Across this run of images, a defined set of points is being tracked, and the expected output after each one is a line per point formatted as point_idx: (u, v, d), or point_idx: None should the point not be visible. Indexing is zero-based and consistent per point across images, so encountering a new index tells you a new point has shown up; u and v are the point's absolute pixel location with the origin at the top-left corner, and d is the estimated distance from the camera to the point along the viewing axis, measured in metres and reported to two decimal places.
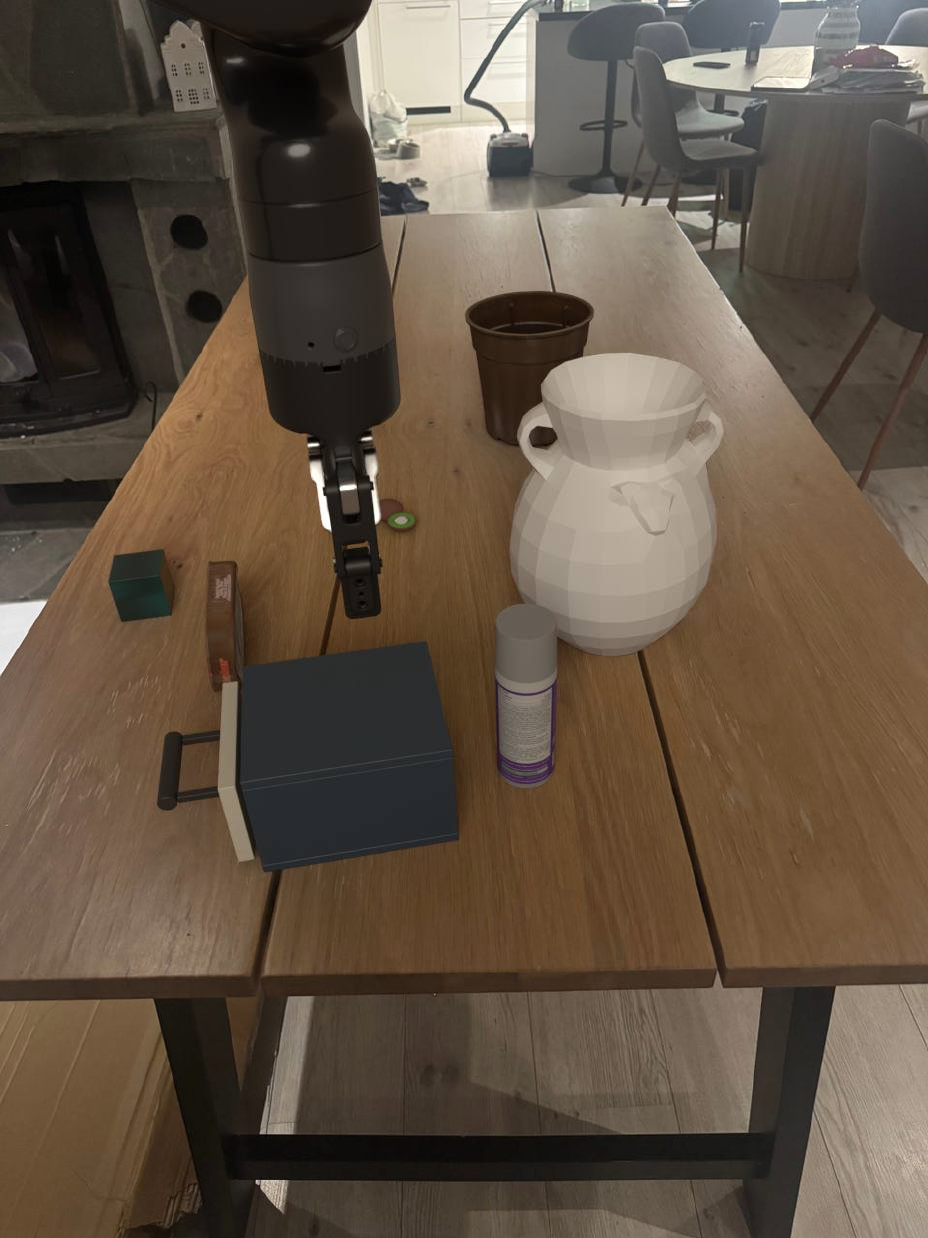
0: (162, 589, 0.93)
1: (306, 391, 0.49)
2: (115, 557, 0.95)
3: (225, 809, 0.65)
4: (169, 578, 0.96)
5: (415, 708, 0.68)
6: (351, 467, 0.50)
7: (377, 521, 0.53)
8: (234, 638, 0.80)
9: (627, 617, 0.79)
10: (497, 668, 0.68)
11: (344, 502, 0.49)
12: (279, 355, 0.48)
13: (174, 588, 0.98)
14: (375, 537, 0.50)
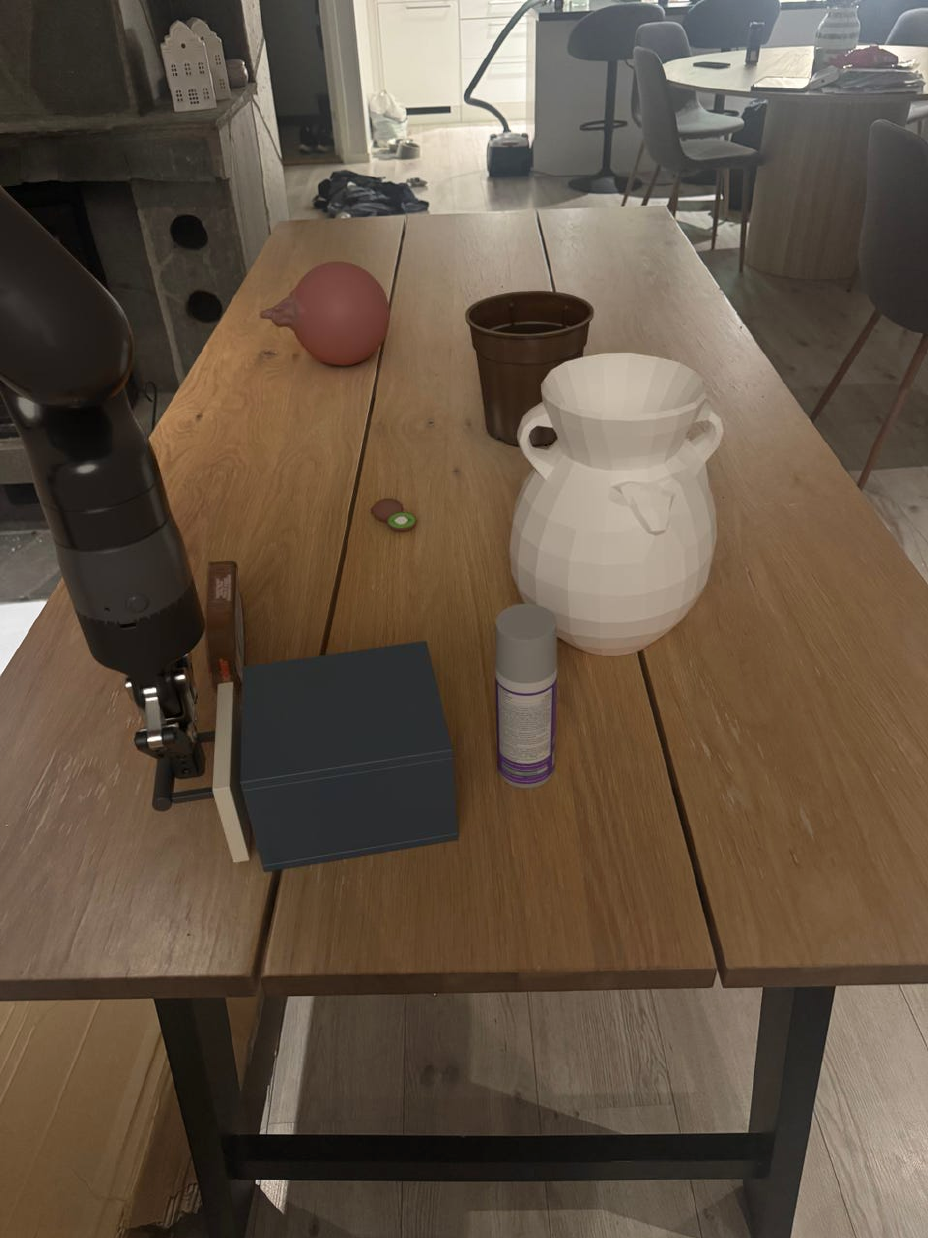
0: None
1: (109, 641, 0.57)
2: None
3: (220, 810, 0.65)
4: None
5: (415, 708, 0.68)
6: (158, 711, 0.60)
7: (191, 721, 0.65)
8: (234, 638, 0.80)
9: (627, 617, 0.79)
10: (497, 668, 0.68)
11: (154, 749, 0.60)
12: (84, 614, 0.57)
13: None
14: (184, 750, 0.63)
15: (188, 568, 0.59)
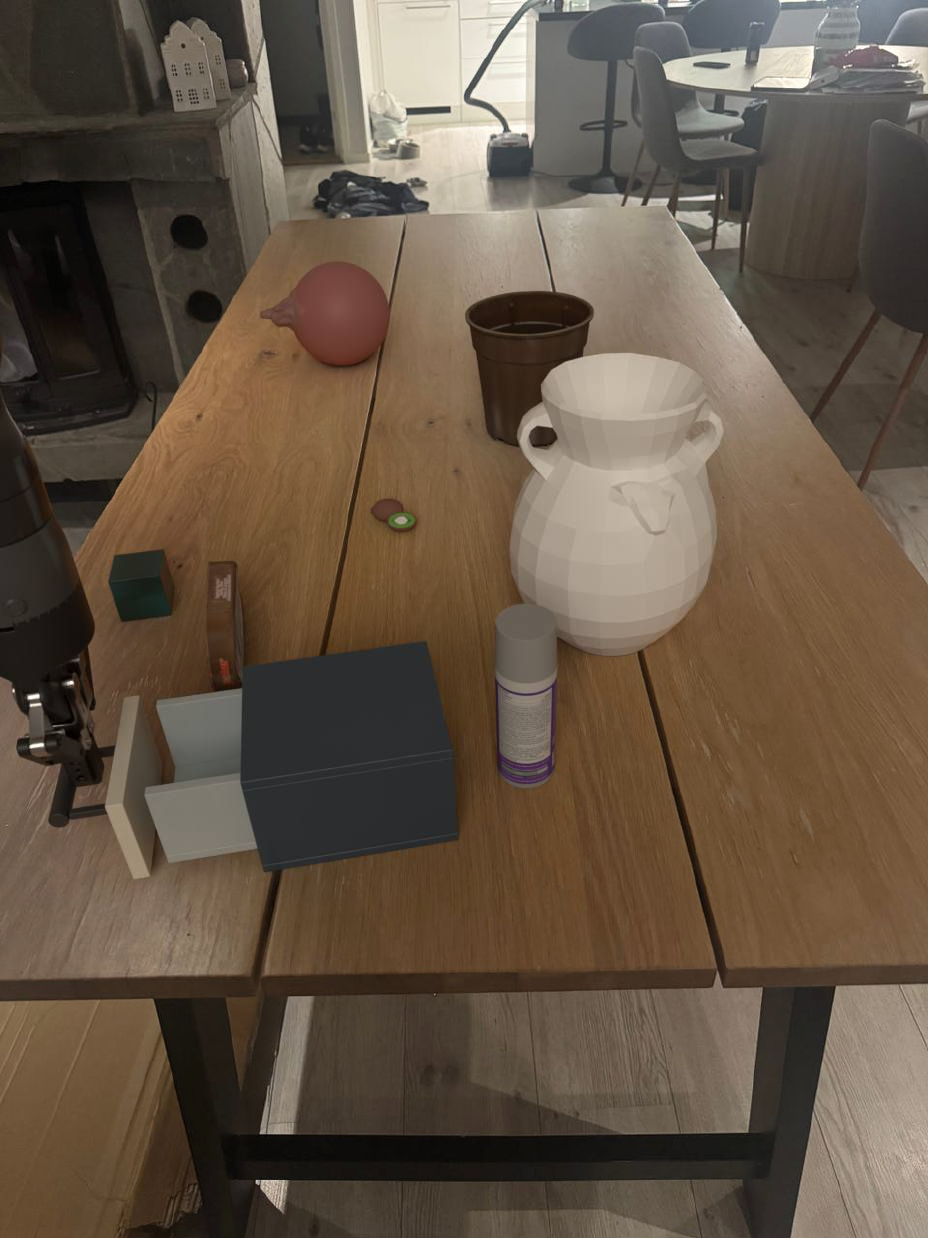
0: (162, 589, 0.93)
1: None
2: (115, 557, 0.95)
3: (114, 827, 0.64)
4: (169, 578, 0.96)
5: (415, 708, 0.68)
6: (41, 717, 0.59)
7: (83, 728, 0.64)
8: (234, 638, 0.80)
9: (627, 617, 0.79)
10: (497, 668, 0.68)
11: (38, 756, 0.59)
12: None
13: (174, 588, 0.98)
14: (72, 757, 0.61)
15: (73, 572, 0.58)
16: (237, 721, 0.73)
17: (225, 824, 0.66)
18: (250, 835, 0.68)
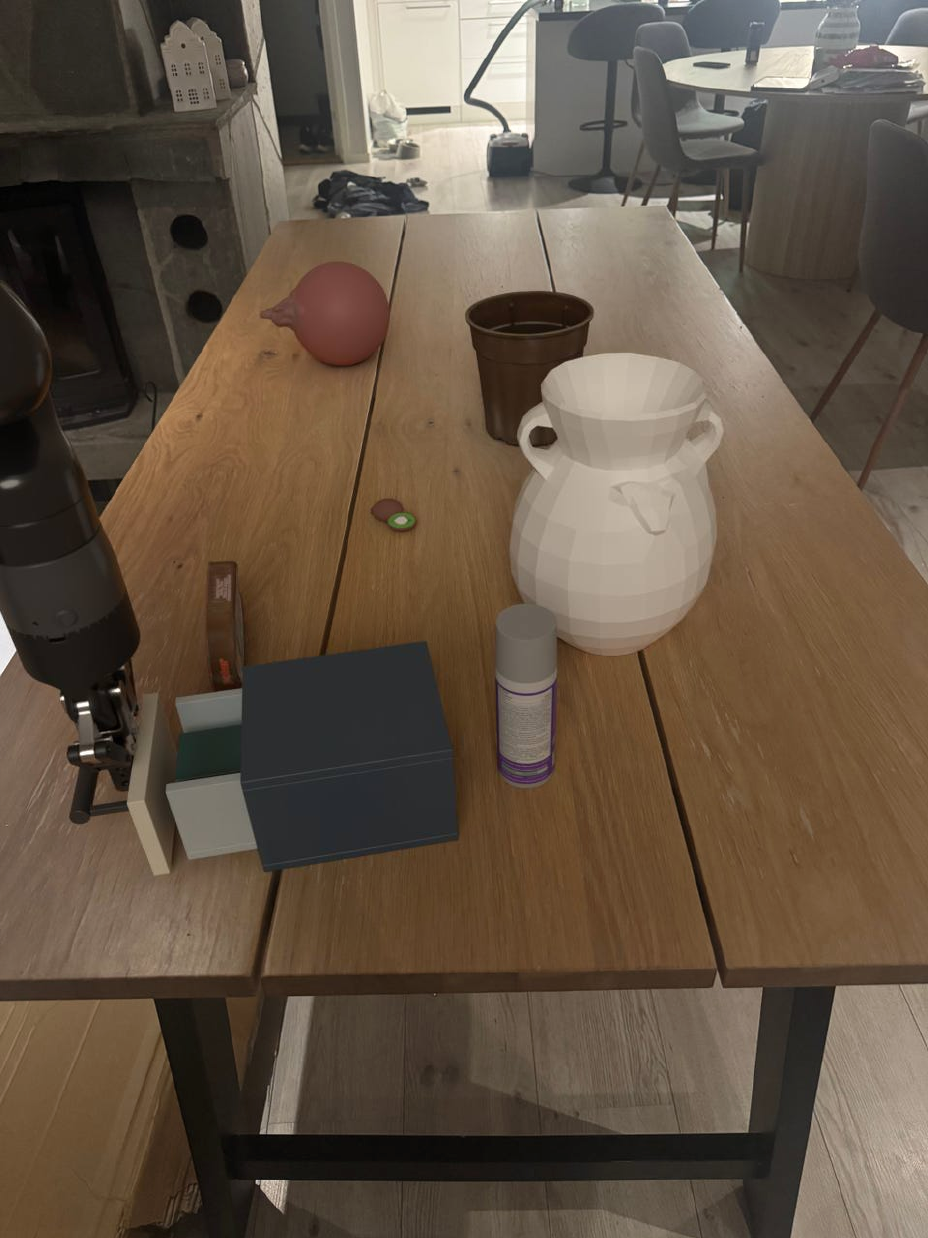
0: None
1: (39, 655, 0.57)
2: (182, 738, 0.70)
3: (136, 823, 0.64)
4: None
5: (415, 708, 0.68)
6: (91, 725, 0.60)
7: (129, 734, 0.65)
8: (234, 638, 0.80)
9: (627, 617, 0.79)
10: (497, 668, 0.68)
11: (87, 763, 0.60)
12: (13, 628, 0.57)
13: None
14: (120, 763, 0.62)
15: (120, 582, 0.59)
16: None
17: (246, 820, 0.67)
18: None
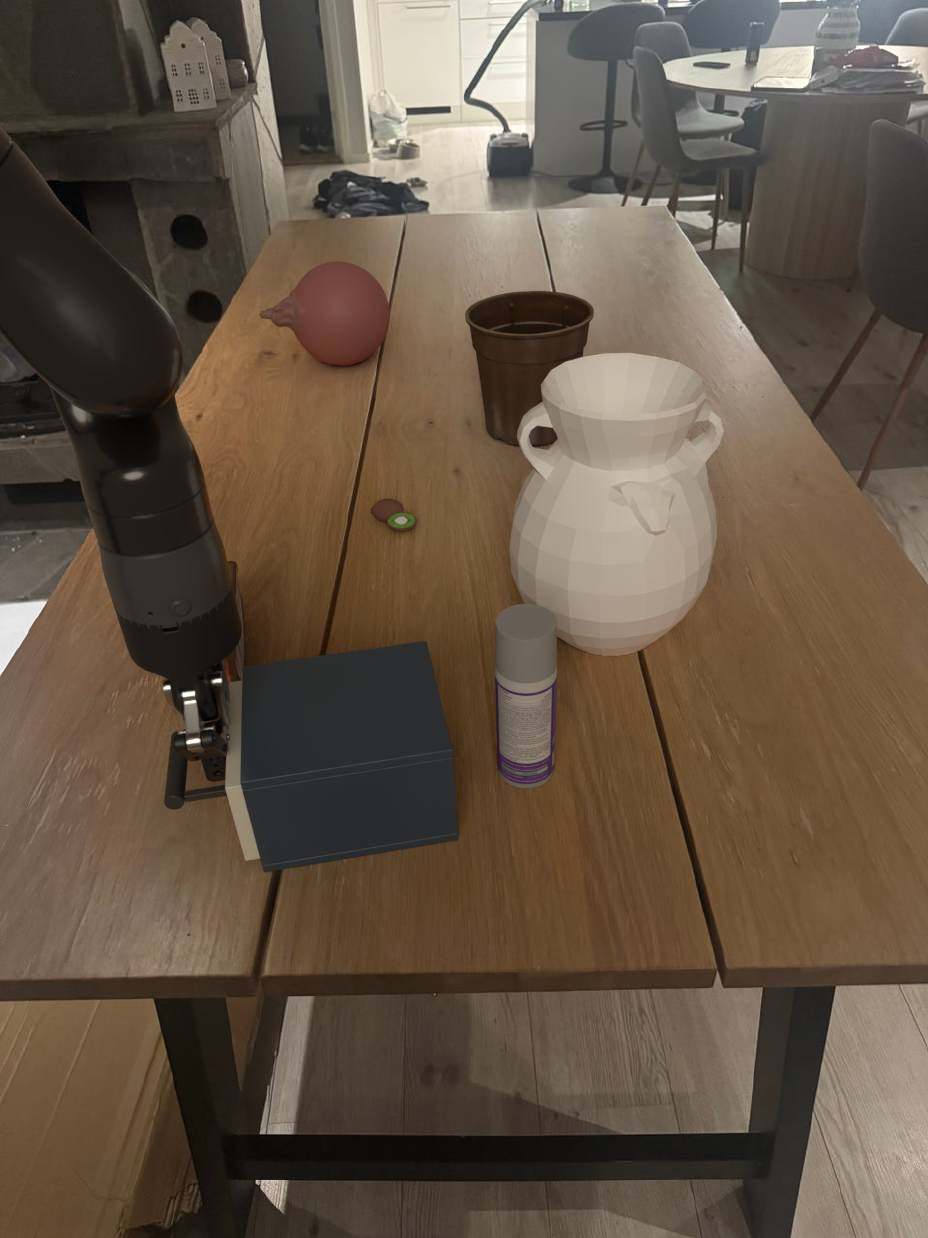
0: None
1: (150, 645, 0.58)
2: None
3: (232, 808, 0.65)
4: None
5: (415, 708, 0.68)
6: (196, 714, 0.61)
7: (226, 724, 0.66)
8: None
9: (627, 617, 0.79)
10: (497, 668, 0.68)
11: (192, 751, 0.61)
12: (126, 617, 0.58)
13: None
14: (220, 752, 0.63)
15: (228, 573, 0.60)
16: None
17: None
18: None
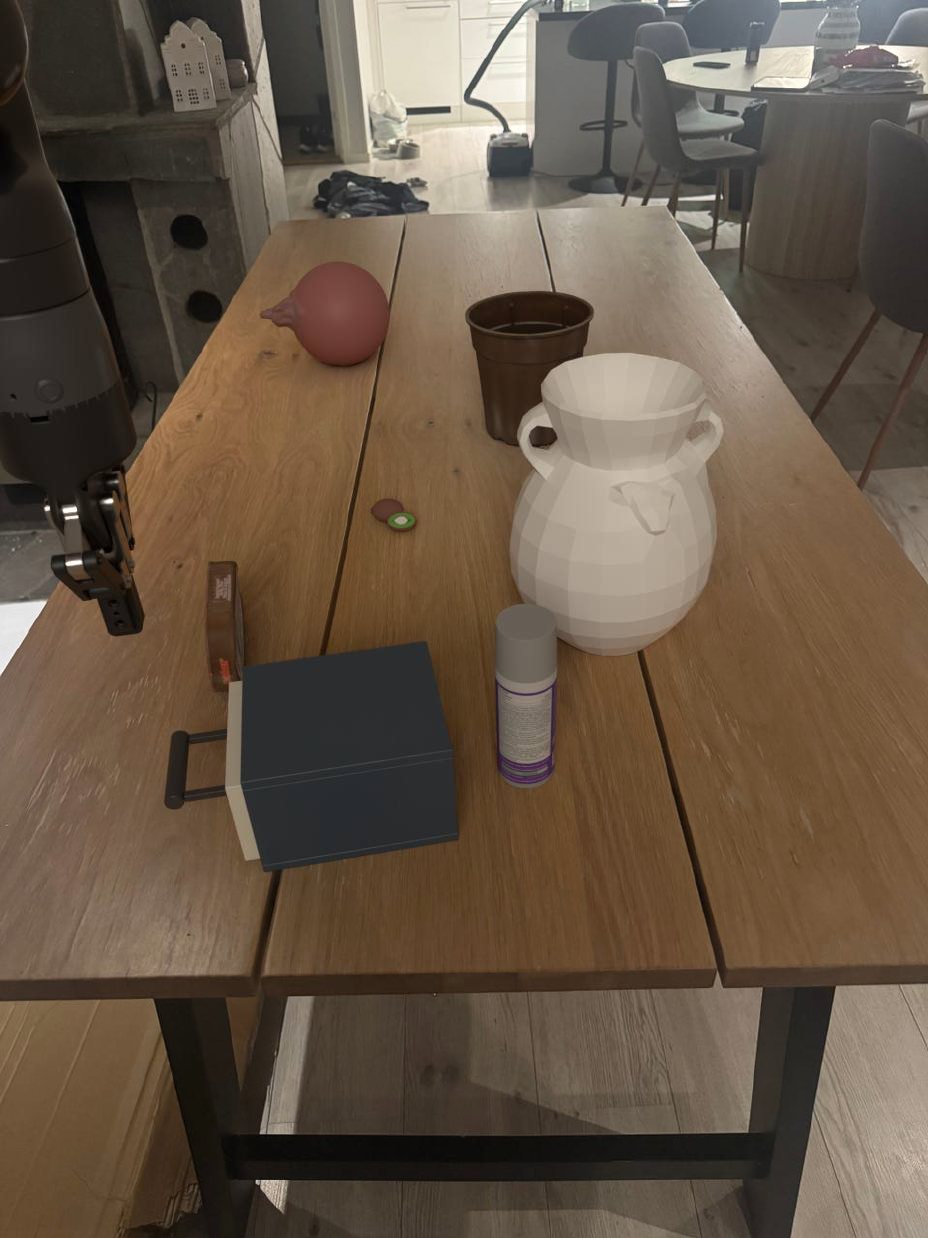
0: None
1: (18, 441, 0.49)
2: None
3: (232, 808, 0.65)
4: None
5: (415, 708, 0.68)
6: (79, 532, 0.52)
7: (124, 559, 0.56)
8: (234, 638, 0.80)
9: (627, 617, 0.79)
10: (497, 668, 0.68)
11: (75, 576, 0.52)
12: None
13: None
14: (112, 585, 0.54)
15: (113, 362, 0.51)
16: None
17: None
18: None
